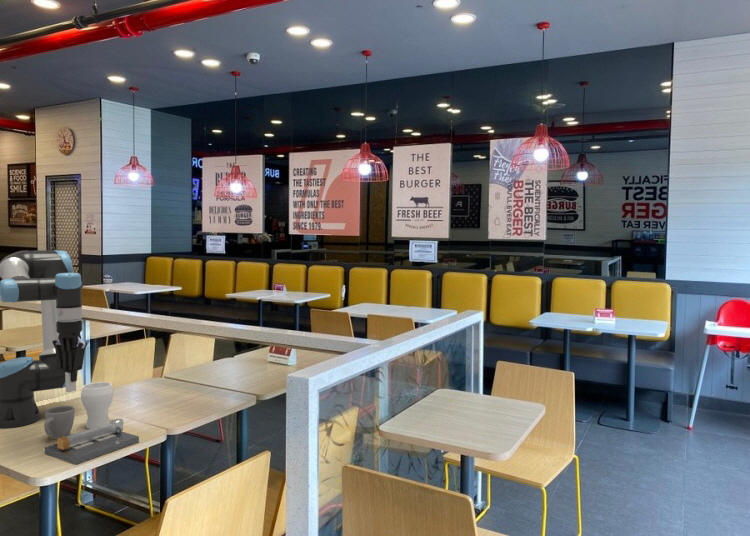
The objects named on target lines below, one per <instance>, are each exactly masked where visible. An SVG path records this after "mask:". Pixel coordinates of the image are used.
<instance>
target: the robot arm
mask: <svg viewBox="0 0 750 536" xmlns="http://www.w3.org/2000/svg"><path fill="white" fill-rule="evenodd" d="M0 279H1V280H0V301H1V302H2V303H12V304H13V303H21V302H36V301H37V302H38V301H39V302H40V309H41V310H40V311H41V312H40V313H41V330H42V331H41V332H42V347H43V348H42V351H41V352H40V354H39V355H38V359H36V360H34V358H33V357H32V356H22V357H21V356H19V357H17V358H12V359H8V360H4V361H2V362H1V363H0V428H1V429H8V428H9V429H10V428H19V427H23V426H27V425H31V424H33V423H35V422H38V421H40V419H41V415H40V414H41V413H40V410H39V407H38V405H37V403H36V400H35V393H34V392H42V391H49V390H56V389H57V390H58V389H64V388H65V393H72V392H75V391H77V380H78V373H79V371H81V370H82V369H83V364H84V359H85V355H86V354H85V353H86V349H87V346H88V341H83V340H82V335H81V332H82V331H83V321H82V320H81V319H82V318H83V304H82V303H83V301H82V299H83V298H82V297H83V295H82V285H83V282H82V275H81V274H80V273H77V272H74V268H73V262H72V258H71V256H70V254H69V253H68V252H67V251H66V250H56V249H54V250H53V249H50V250H48V249H47V250H42V249H41V250H19V251H16V252H14V253H11V254H9V255H6V256H5V257H4V258H3V259H2V260H1V261H0Z"/></svg>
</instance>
